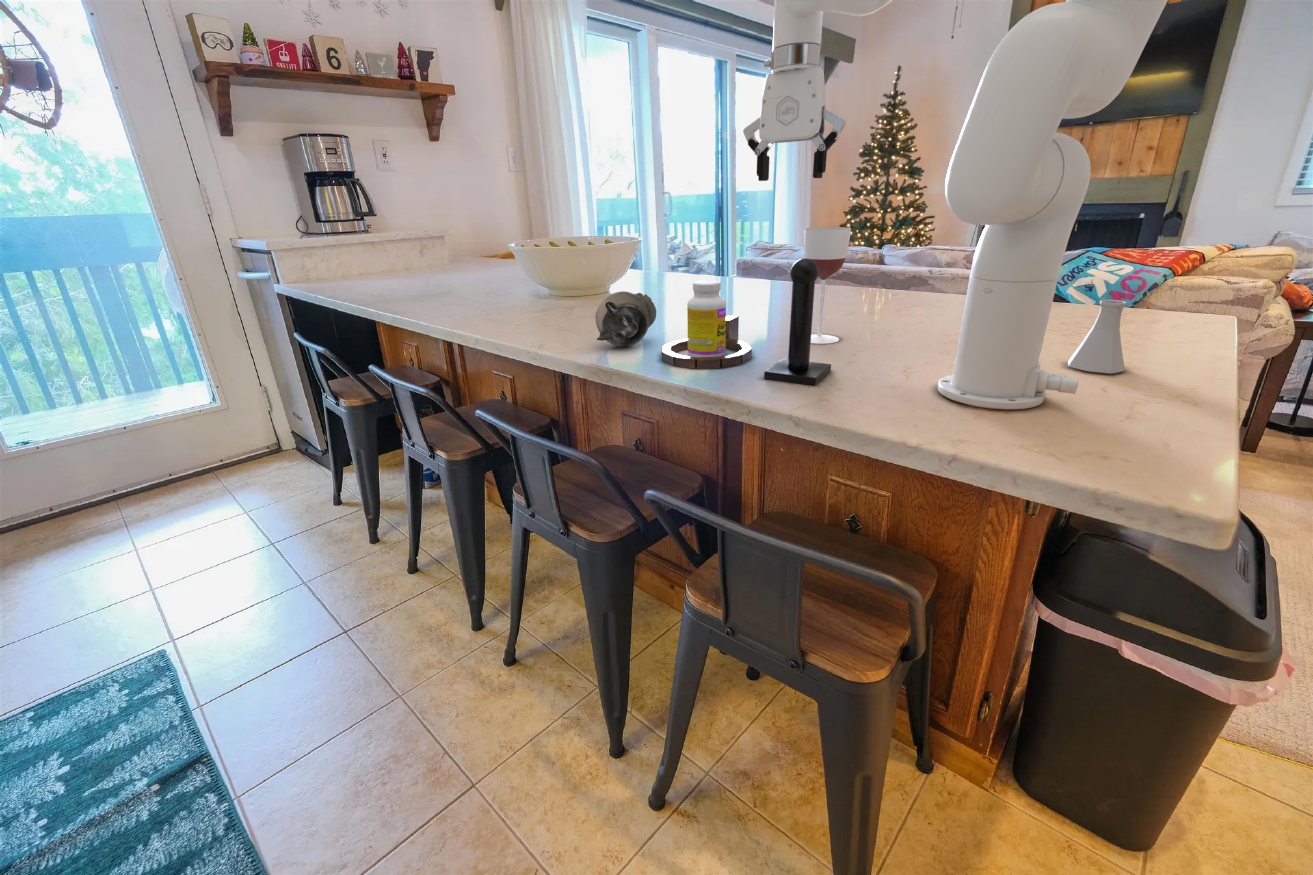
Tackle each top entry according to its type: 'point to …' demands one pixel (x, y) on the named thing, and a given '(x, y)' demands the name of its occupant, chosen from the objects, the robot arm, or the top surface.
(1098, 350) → the flask
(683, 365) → the walnut ring
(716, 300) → the supplement bottle
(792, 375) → the towel holder
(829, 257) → the wineglass
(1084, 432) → the top surface
